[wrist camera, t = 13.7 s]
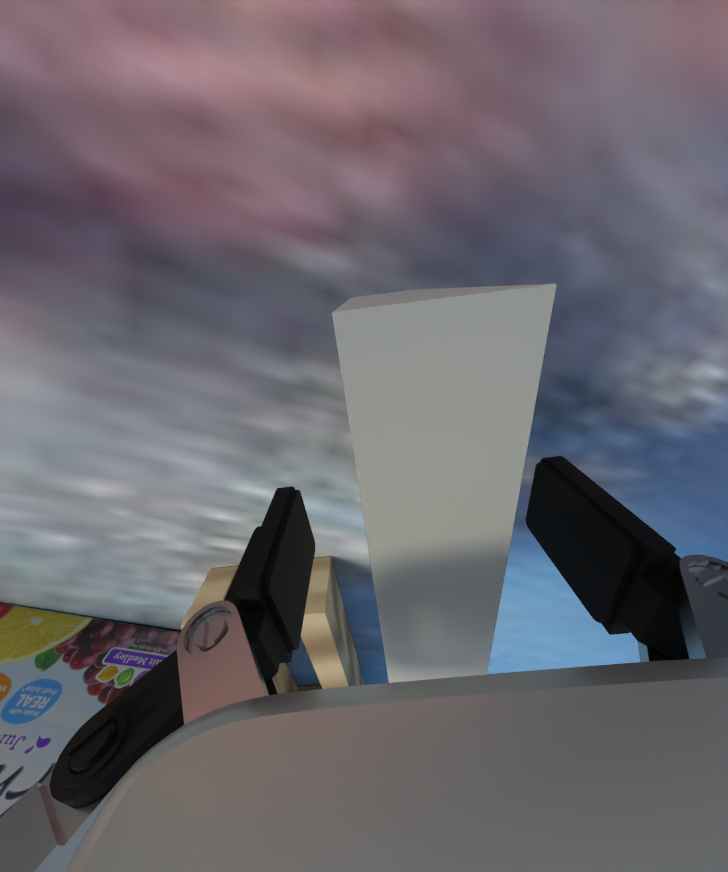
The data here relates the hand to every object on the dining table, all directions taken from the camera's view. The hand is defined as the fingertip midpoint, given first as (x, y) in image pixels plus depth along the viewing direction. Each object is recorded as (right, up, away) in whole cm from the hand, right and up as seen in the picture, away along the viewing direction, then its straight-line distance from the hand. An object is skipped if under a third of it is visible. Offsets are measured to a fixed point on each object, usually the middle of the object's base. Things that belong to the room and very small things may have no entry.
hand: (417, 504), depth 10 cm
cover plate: (0, +3, +5) cm, 6 cm away
